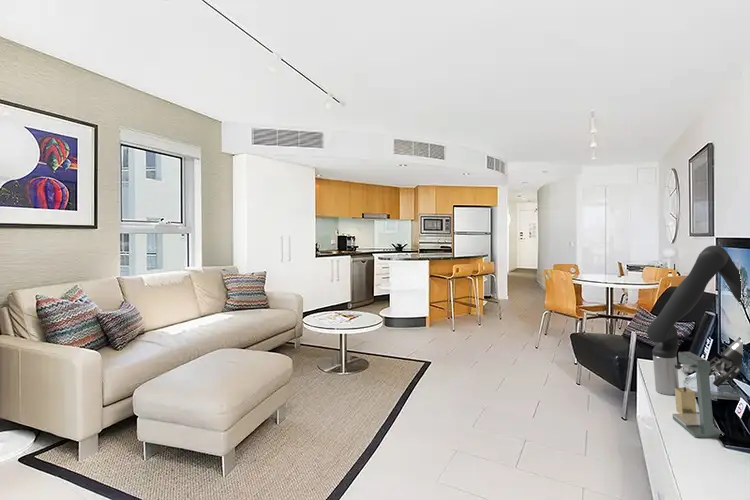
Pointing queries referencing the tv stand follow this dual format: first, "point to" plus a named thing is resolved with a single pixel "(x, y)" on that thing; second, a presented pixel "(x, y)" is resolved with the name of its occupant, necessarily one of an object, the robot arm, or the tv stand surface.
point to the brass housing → (685, 401)
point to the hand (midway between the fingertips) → (708, 381)
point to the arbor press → (703, 421)
